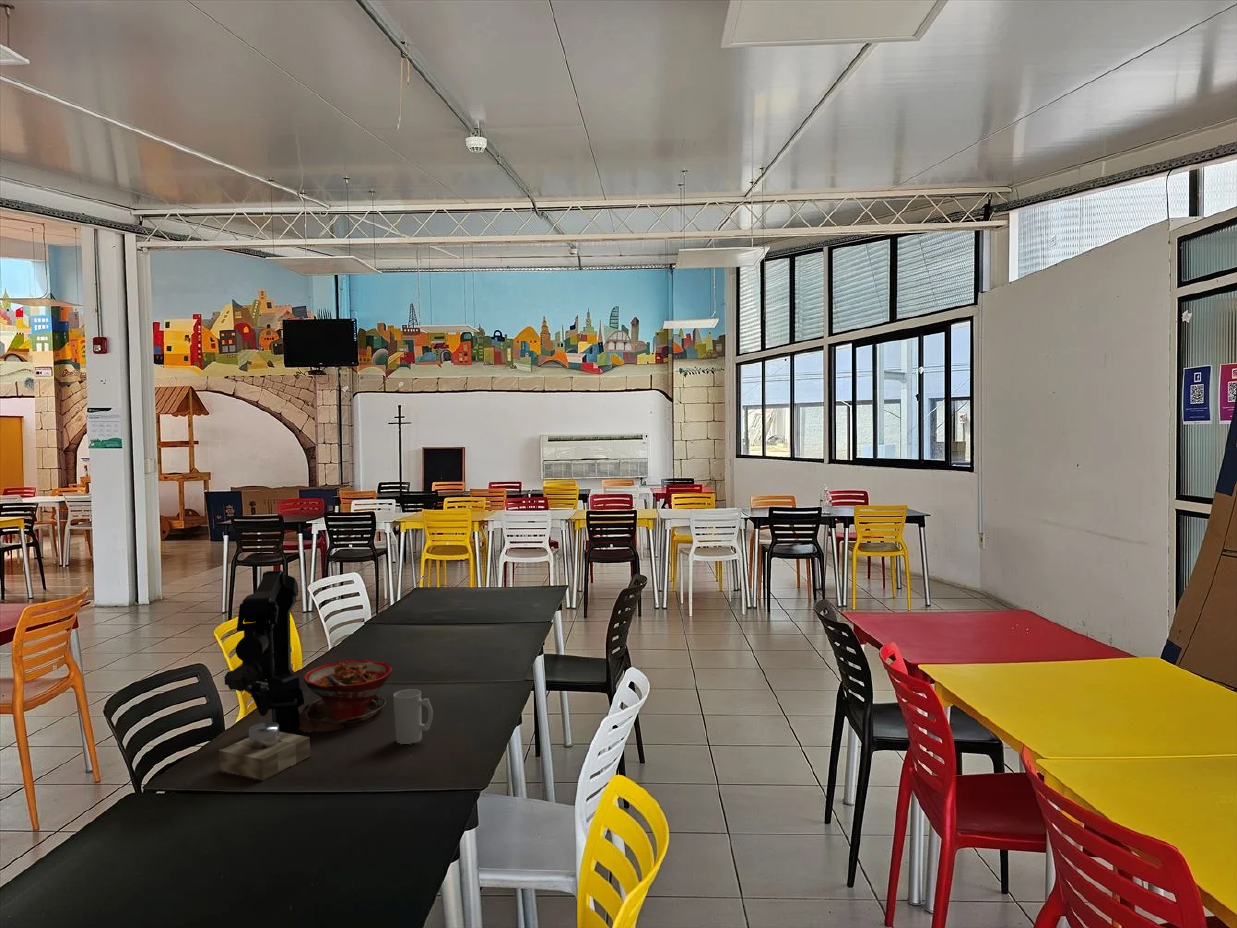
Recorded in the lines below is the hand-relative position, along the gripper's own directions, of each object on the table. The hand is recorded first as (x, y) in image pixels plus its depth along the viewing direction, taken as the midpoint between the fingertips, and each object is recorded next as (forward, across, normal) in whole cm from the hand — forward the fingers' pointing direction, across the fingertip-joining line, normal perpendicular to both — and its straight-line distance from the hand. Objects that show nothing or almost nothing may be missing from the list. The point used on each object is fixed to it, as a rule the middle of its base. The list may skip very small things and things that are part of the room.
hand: (263, 715), depth 194 cm
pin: (+12, 0, 0) cm, 12 cm away
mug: (+12, +24, +25) cm, 37 cm away
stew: (+12, -6, +32) cm, 35 cm away
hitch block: (+12, 0, 0) cm, 12 cm away
